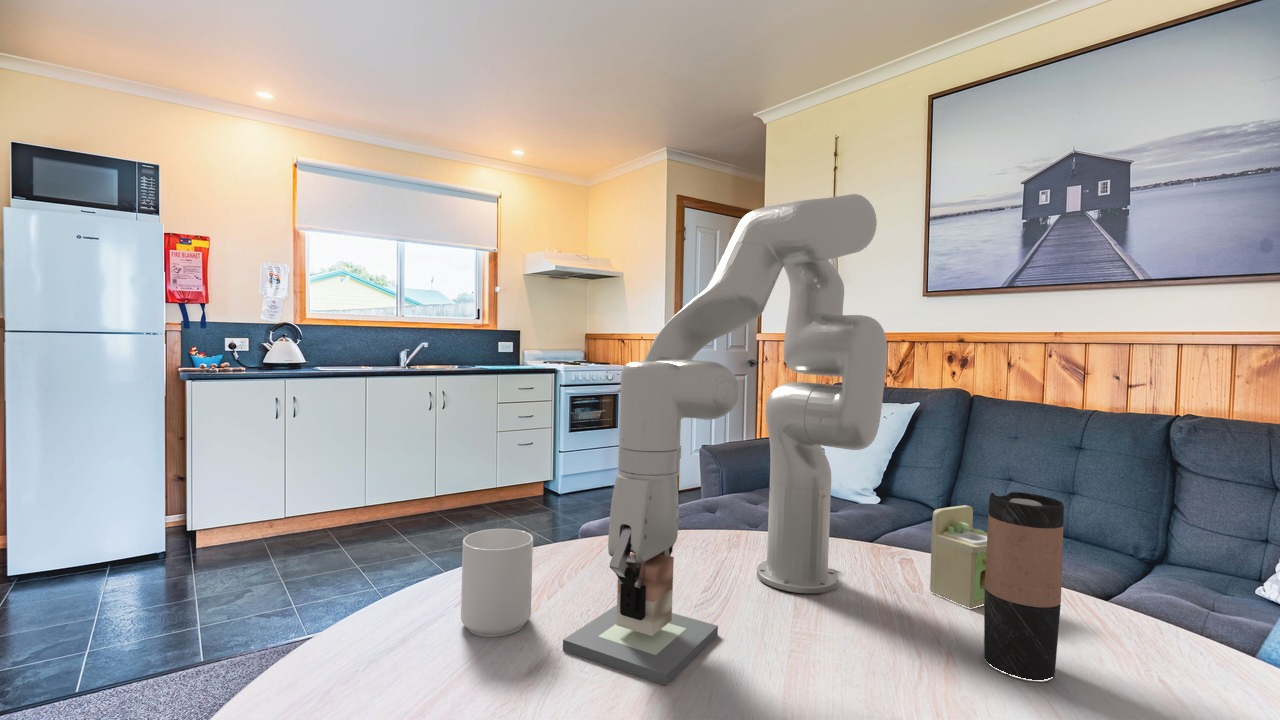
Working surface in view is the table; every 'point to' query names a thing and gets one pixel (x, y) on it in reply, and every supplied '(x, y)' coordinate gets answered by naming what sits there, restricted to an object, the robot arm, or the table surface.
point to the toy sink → (958, 556)
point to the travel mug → (1023, 584)
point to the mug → (496, 581)
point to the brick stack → (652, 596)
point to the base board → (642, 645)
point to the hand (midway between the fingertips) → (644, 606)
